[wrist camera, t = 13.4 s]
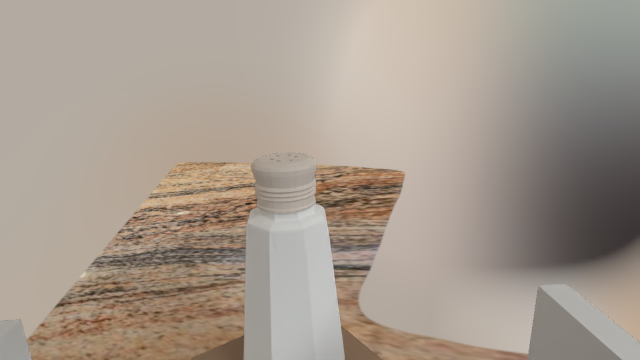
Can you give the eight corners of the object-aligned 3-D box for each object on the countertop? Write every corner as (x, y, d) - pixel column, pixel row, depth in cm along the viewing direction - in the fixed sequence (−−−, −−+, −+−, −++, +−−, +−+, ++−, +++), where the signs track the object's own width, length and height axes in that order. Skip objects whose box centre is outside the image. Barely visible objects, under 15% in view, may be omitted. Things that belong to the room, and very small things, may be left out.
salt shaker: (331, 428, 17) (325, 179, 14) (219, 398, 19) (191, 170, 15) (359, 345, 22) (360, 147, 19) (269, 327, 23) (256, 143, 20)
